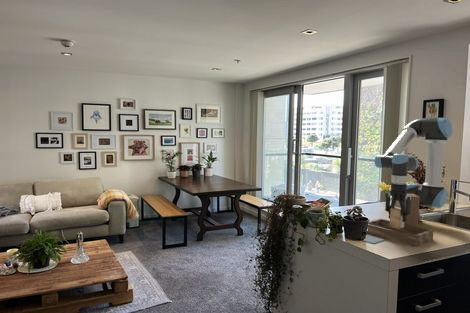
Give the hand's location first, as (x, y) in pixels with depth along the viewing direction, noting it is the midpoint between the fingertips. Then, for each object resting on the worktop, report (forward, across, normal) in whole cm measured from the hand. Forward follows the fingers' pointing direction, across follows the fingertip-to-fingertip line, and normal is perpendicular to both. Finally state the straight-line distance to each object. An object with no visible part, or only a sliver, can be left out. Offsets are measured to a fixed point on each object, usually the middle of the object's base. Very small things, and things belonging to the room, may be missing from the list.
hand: (396, 226), depth 181 cm
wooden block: (+6, -4, +18) cm, 19 cm away
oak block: (0, 0, 0) cm, 0 cm away
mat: (+5, -4, -18) cm, 19 cm away
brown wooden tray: (+5, 0, 0) cm, 5 cm away
